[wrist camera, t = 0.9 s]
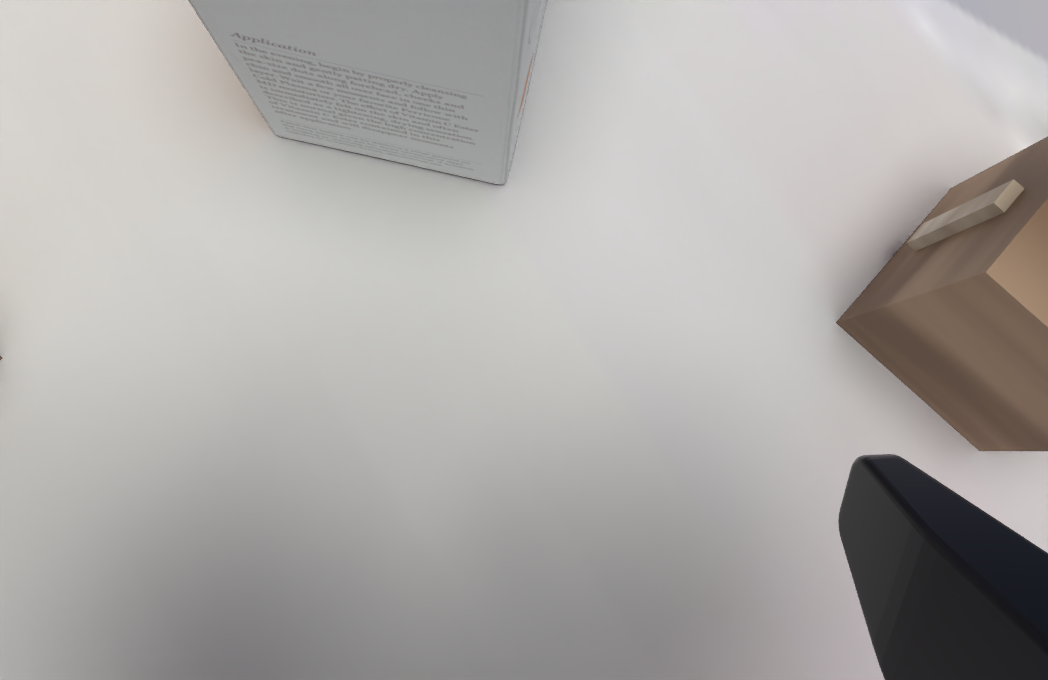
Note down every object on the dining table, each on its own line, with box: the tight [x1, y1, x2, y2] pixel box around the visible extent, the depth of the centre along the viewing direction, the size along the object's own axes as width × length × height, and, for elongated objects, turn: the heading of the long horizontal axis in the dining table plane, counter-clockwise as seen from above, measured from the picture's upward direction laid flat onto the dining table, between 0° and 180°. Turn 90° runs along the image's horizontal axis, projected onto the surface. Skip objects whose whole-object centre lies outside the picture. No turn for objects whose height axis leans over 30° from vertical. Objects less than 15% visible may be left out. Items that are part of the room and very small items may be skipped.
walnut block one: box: [836, 137, 1048, 451], centre depth 21 cm, size 5×5×7 cm
